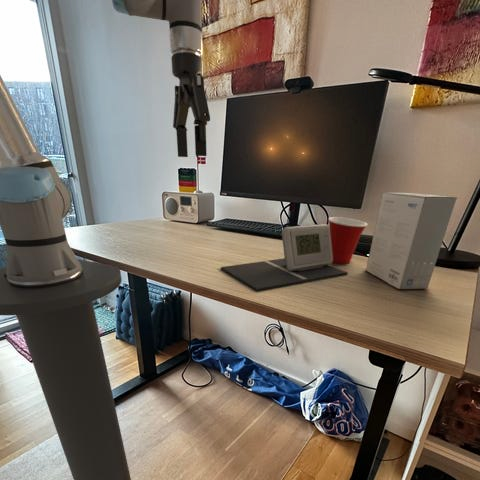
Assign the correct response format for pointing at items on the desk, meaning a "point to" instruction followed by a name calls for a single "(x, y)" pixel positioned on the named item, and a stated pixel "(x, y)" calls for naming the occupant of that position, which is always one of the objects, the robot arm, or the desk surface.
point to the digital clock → (307, 247)
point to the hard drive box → (409, 238)
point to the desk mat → (277, 274)
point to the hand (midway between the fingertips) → (191, 156)
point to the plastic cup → (344, 237)
